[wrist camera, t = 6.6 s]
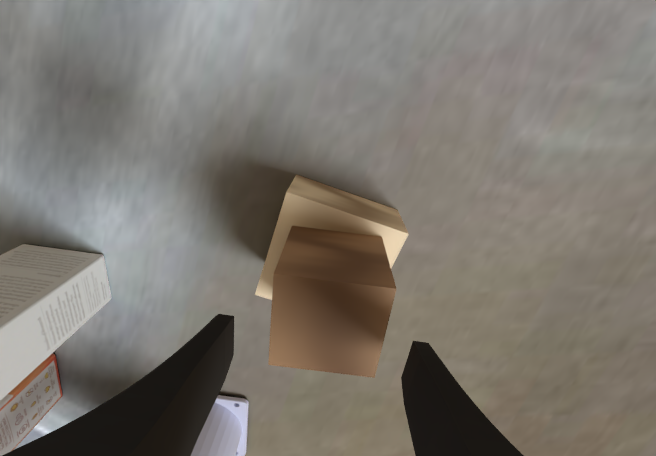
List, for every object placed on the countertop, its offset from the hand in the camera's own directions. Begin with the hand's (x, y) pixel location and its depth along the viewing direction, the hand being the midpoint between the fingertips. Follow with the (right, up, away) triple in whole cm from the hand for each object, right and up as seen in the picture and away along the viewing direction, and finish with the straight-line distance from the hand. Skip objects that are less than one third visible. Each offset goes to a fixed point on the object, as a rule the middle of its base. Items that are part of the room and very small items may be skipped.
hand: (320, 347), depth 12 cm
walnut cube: (+1, +2, +6) cm, 6 cm away
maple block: (0, +4, +9) cm, 10 cm away
